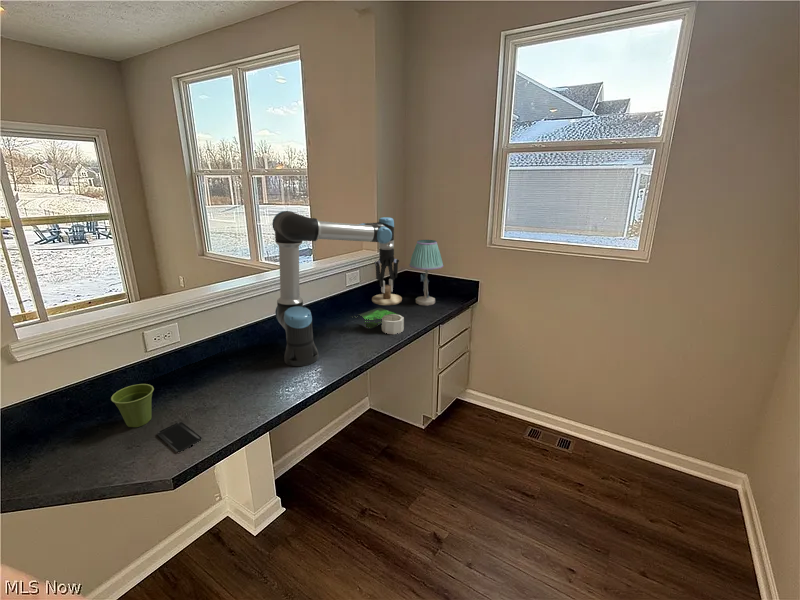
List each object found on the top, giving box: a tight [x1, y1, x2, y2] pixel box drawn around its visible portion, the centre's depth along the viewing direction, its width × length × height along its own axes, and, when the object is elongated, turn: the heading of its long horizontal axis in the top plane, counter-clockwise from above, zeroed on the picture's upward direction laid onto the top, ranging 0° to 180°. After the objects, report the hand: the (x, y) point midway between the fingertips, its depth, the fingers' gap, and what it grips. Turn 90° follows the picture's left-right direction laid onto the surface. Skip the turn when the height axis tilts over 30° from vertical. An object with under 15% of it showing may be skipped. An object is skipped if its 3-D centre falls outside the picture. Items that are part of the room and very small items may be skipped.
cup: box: [381, 314, 405, 335], centre depth 207 cm, size 11×11×7 cm
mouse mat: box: [350, 307, 404, 329], centre depth 225 cm, size 27×22×1 cm
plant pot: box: [110, 383, 155, 428], centre depth 130 cm, size 12×12×11 cm
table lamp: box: [408, 239, 444, 306], centre depth 245 cm, size 22×22×40 cm
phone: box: [156, 421, 203, 453], centre depth 124 cm, size 8×1×15 cm
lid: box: [371, 284, 403, 306], centre depth 205 cm, size 16×16×8 cm
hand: (386, 291), depth 205 cm, fingers closed on lid, 4 cm apart
